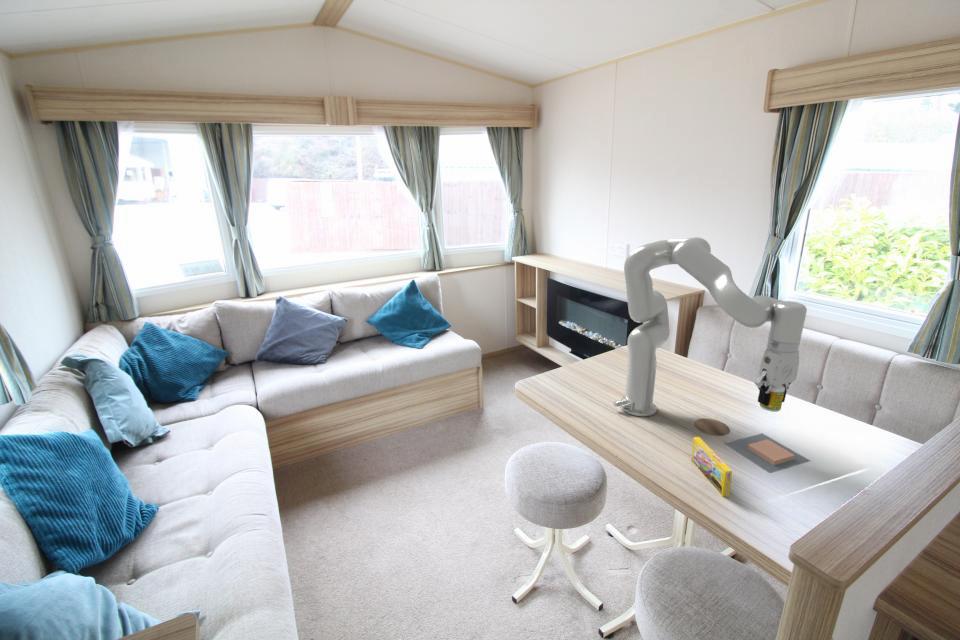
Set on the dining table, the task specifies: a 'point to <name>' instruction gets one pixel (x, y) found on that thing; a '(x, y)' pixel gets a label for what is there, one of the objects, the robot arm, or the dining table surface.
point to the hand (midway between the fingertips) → (770, 401)
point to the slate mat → (742, 449)
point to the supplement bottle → (775, 398)
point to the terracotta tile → (770, 452)
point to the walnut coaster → (711, 427)
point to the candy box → (711, 466)
